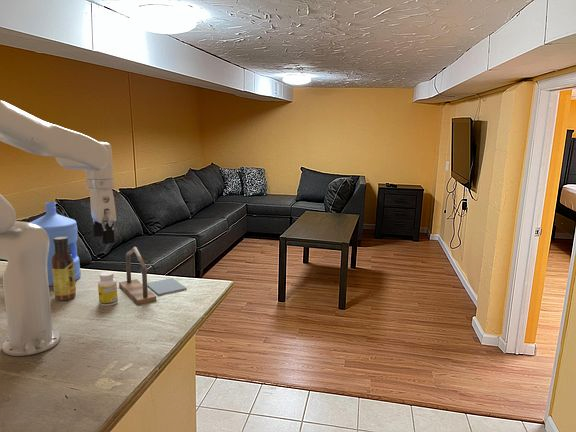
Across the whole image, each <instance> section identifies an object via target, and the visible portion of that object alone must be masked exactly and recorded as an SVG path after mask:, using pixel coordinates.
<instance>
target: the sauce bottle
mask: <svg viewBox="0 0 576 432" xmlns="http://www.w3.org/2000/svg"><path fill="white" fill-rule="evenodd" d="M53 240H54V244H55V254H54V256H53V258H52V275H53V286H52V287H53V294H54V298H55V300H57V301H60V302H61V301H69V300H71V299H74V298H75V297H76V291H77V287H76V280H75V273H74V261H73V259H72V257H71V255H70V254H71V253H70V251H69V244H68V237H56V238H54V239H53Z"/></svg>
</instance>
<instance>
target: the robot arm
mask: <svg viewBox="0 0 576 432" xmlns="http://www.w3.org/2000/svg"><path fill="white" fill-rule="evenodd" d="M0 142H2V143H4V144H7V145H10V146H12V147H14V148H17V149H19V150H22V151H24V152H26V153H30V154H33V155H37V156H41V157H42V156H43V157H51V158H55V161H56V162H57V163H58V165H59V166H60V167H62V168H65V169H68V170H78V171H79V170H80V171H81V170H82V171H84V172H85V182H86V183H85V184H86V186H85V187H86V190H87V191H89V197H90V200H89V201H90V213H91V218H92V225H93V226H92V228H93V237H95V238H97V237H102V244H104V245H109V244H113V243H115V242H116V241H115V228H114V227H115V226H114V225H115V224H114V222H116V221H117V214H116V213H117V212H116V204H115V195H114V192H113V190H114V189H115V184H114V182H115V181H114V167H113V163H114V162H113V152H112V150H113V149H112V145H111V144H110V143H108V142H106V141H105V142H104V141H98V140H96V139H94V138H92V137H91V136H88V135H85V134H83V133H81V132H78V131H75V130H71V129H69V128H65V127H63V126H60V125H57V124H53V123H50V122H48V121H45V120H42V119H40V118H39V117H36V116H34V115H32V114H30V113H28V112H27V111H24V110H22V109H20V108H18V107H16V106H15V105H12V104H10V103H8V102H6V101H4V100H1V99H0ZM48 251H49V236H48V234H47V232H46V231H45V230H44V229H43V228H42V227H40V226H38V225H36V224H33V223H30V222H27V221H19V220H18V221H17V213H16V211H15V208H14V207H13V205H12V204H11V203H10V201H8V199H6V197H4V196H3V195H2V194H1V193H0V260H4V261H7V265H6V267H5V270H4V273H3V276H2V289H3V295H4V304H5V314H6V323H7V331H8V338H7V339H5V340H4V342H3V343H2V346H1V347H2V352H3V353H4V354H7V355H8V356H16V357H23V356H25V357H26V356H31V355H35V354H40V353H43V352H45V351H47V350H49V349H52V348H53V347H55V346H56V345H57V344H59V342H60V340H61V334H60V332H59V331H57V330H56V329H53V319H52V318H53V317H52V306H51V297H50V296H51V295H50V286H49V284H48V272H47V259H48Z"/></svg>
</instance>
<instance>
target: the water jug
mask: <svg viewBox="0 0 576 432" xmlns="http://www.w3.org/2000/svg"><path fill="white" fill-rule="evenodd" d="M29 223H33V224H36V225H38V226H40V227H42V228H43V229H44V230H45V231H46V232H47V234H48V236H49V251H48V259H47V272H48V284H49V287H54V286H53V275H52V258H53V256H54V254H55V244H54V240H53V239H54V238H56V237H68V245H70V247H71V251H70V252H71V253H70V255H71V257H72V259H73V261H74V273H75V281H77V280H78V279H79V278H80V277H81V275H82V273H81V265H80V257H79V256H78V247H77V241H78V225H77V221H76V220H75V219H74V218H70V217H66V216H65V215H61V214H58V213H57V206H56V201H48V202H45V214H44V215H43V216H40V217H39V218H36V219H35V220H34V219H33V220H32V221H30V222H29Z"/></svg>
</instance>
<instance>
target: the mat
mask: <svg viewBox="0 0 576 432" xmlns="http://www.w3.org/2000/svg"><path fill="white" fill-rule="evenodd" d="M147 288H148V289H149V290H150V291H151V292H152V293H154V294H155V295H156V296H163V295H168V294H172V293H176V292H182V291H186V290H187V289H188V288H187V287H186V286H185V285H183V283H181V282H179V281H177V280H176V279H174V278H173V277H171V278H166V279H159V280H156V281H151V282H147Z"/></svg>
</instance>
